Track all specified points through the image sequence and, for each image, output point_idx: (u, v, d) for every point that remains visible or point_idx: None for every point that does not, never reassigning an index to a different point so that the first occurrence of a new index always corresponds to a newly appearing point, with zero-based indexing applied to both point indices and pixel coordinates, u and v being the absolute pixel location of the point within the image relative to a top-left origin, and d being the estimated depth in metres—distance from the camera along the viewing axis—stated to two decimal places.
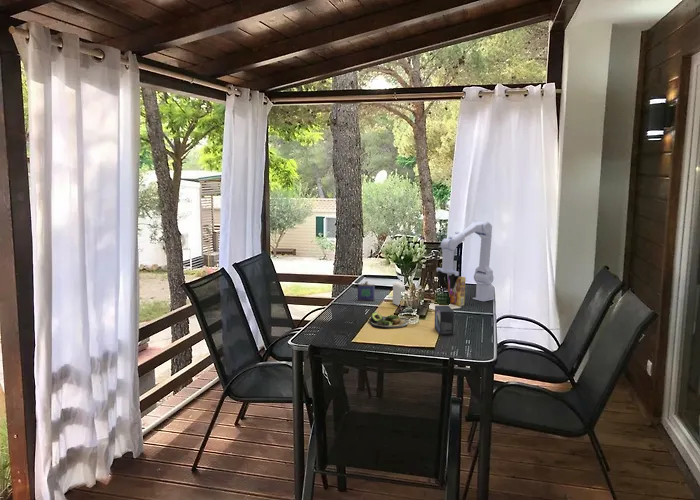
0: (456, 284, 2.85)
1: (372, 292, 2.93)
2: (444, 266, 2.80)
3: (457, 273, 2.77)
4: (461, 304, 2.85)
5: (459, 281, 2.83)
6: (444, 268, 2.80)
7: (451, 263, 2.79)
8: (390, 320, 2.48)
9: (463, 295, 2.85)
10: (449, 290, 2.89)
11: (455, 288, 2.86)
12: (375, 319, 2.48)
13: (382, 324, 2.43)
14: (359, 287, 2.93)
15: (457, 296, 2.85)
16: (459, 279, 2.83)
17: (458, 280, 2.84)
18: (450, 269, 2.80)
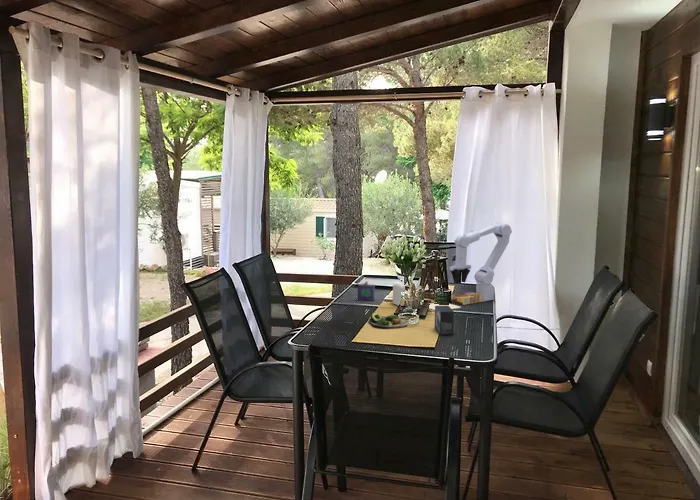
0: (473, 294, 2.95)
1: (372, 292, 2.93)
2: None
3: (450, 268, 2.89)
4: (464, 300, 2.87)
5: (478, 294, 2.94)
6: None
7: (457, 259, 2.91)
8: (390, 320, 2.48)
9: (470, 301, 2.90)
10: (462, 293, 2.96)
11: (470, 294, 2.94)
12: (375, 319, 2.48)
13: (382, 324, 2.43)
14: (359, 287, 2.93)
15: (466, 296, 2.90)
16: (479, 294, 2.95)
17: (478, 294, 2.95)
18: (456, 264, 2.92)
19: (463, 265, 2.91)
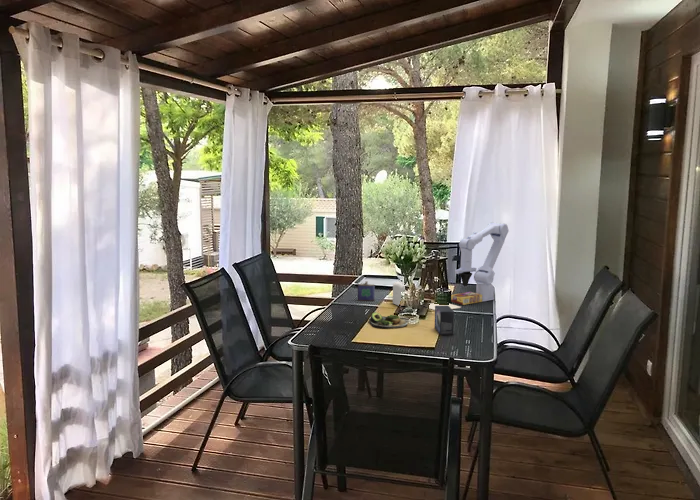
0: (473, 294, 2.95)
1: (372, 292, 2.93)
2: None
3: (456, 271, 2.86)
4: (464, 300, 2.87)
5: (478, 294, 2.94)
6: None
7: (462, 262, 2.88)
8: (390, 320, 2.48)
9: (470, 301, 2.90)
10: (462, 293, 2.96)
11: (470, 294, 2.94)
12: (375, 319, 2.48)
13: (382, 324, 2.43)
14: (359, 287, 2.93)
15: (466, 296, 2.90)
16: (479, 294, 2.95)
17: (478, 294, 2.95)
18: (461, 267, 2.89)
19: (468, 268, 2.87)
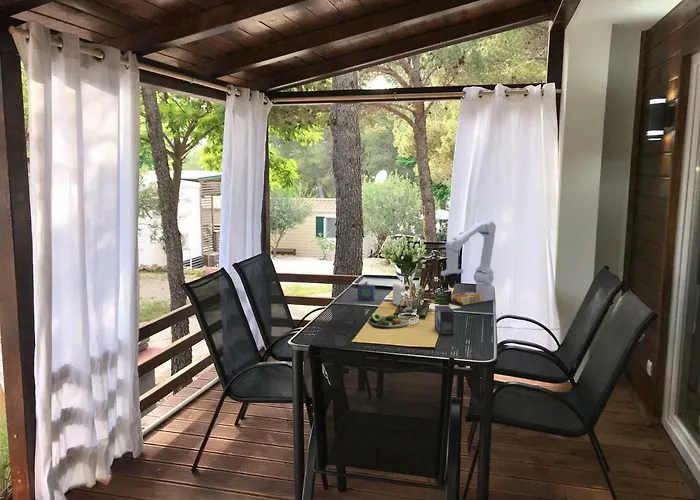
0: (473, 294, 2.95)
1: (372, 292, 2.93)
2: None
3: (442, 273, 2.80)
4: (464, 300, 2.87)
5: (478, 294, 2.94)
6: None
7: (448, 263, 2.82)
8: (390, 320, 2.48)
9: (470, 301, 2.90)
10: (462, 293, 2.96)
11: (470, 294, 2.94)
12: (375, 319, 2.48)
13: (382, 324, 2.43)
14: (359, 287, 2.93)
15: (466, 296, 2.90)
16: (479, 294, 2.95)
17: (478, 294, 2.95)
18: (447, 269, 2.83)
19: (455, 270, 2.82)
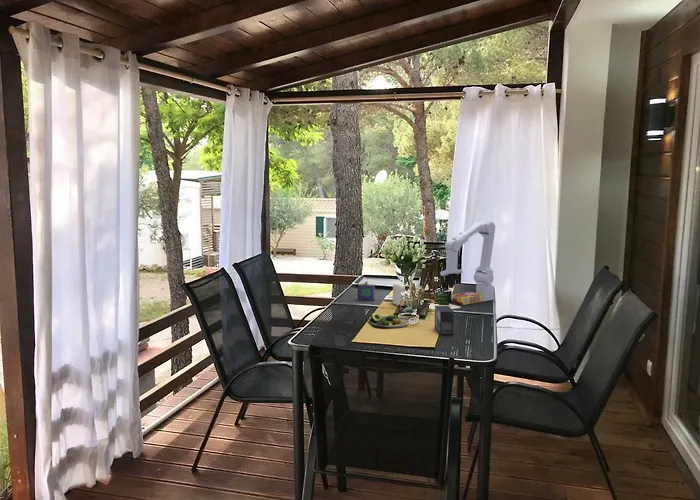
0: (473, 294, 2.95)
1: (372, 292, 2.93)
2: None
3: (441, 273, 2.80)
4: (464, 300, 2.87)
5: (478, 294, 2.94)
6: None
7: (447, 263, 2.82)
8: (390, 320, 2.48)
9: (470, 301, 2.90)
10: (462, 293, 2.96)
11: (470, 294, 2.94)
12: (375, 319, 2.48)
13: (382, 324, 2.43)
14: (359, 287, 2.93)
15: (466, 296, 2.90)
16: (479, 294, 2.95)
17: (478, 294, 2.95)
18: (447, 269, 2.83)
19: (454, 270, 2.81)
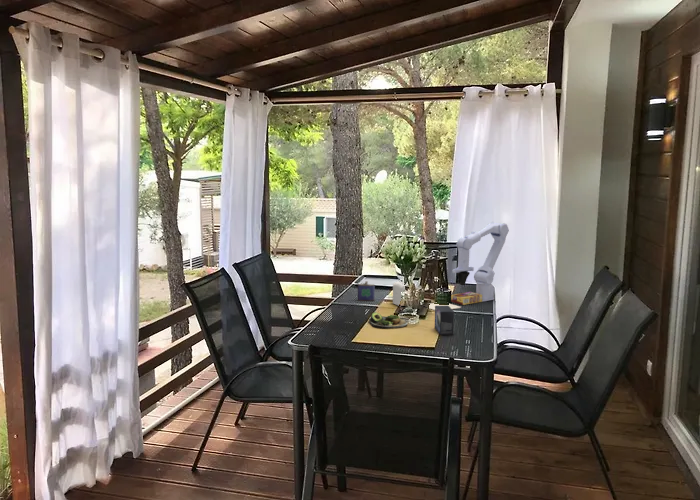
0: (473, 294, 2.95)
1: (372, 292, 2.93)
2: None
3: (453, 270, 2.87)
4: (464, 300, 2.87)
5: (478, 294, 2.94)
6: None
7: (459, 261, 2.89)
8: (390, 320, 2.48)
9: (470, 301, 2.90)
10: (462, 293, 2.96)
11: (470, 294, 2.94)
12: (375, 319, 2.48)
13: (382, 324, 2.43)
14: (359, 287, 2.93)
15: (466, 296, 2.90)
16: (479, 294, 2.95)
17: (478, 294, 2.95)
18: (458, 267, 2.90)
19: (466, 267, 2.88)
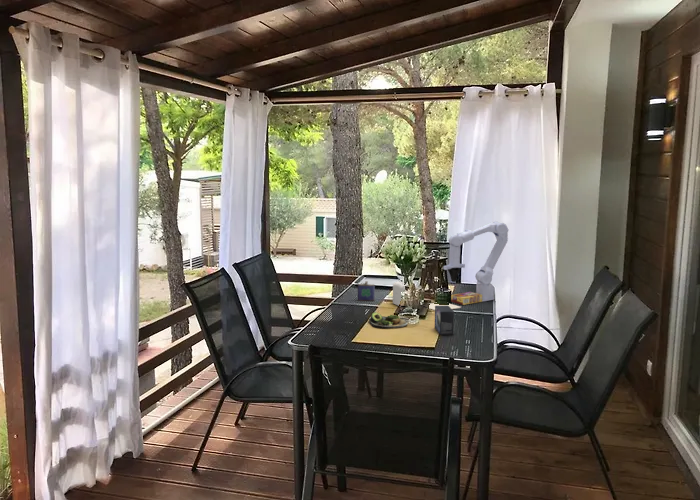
0: (473, 294, 2.95)
1: (372, 292, 2.93)
2: None
3: (444, 267, 2.92)
4: (464, 300, 2.87)
5: (478, 294, 2.94)
6: None
7: (450, 258, 2.94)
8: (390, 320, 2.48)
9: (470, 301, 2.90)
10: (462, 293, 2.96)
11: (470, 294, 2.94)
12: (375, 319, 2.48)
13: (382, 324, 2.43)
14: (359, 287, 2.93)
15: (466, 296, 2.90)
16: (479, 294, 2.95)
17: (478, 294, 2.95)
18: (449, 264, 2.95)
19: (457, 264, 2.93)
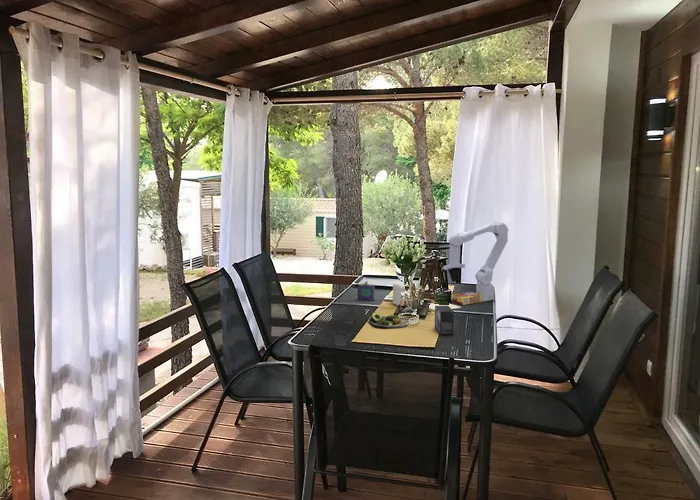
0: (473, 294, 2.95)
1: (372, 292, 2.93)
2: None
3: (444, 267, 2.92)
4: (464, 300, 2.87)
5: (478, 294, 2.94)
6: None
7: (450, 258, 2.94)
8: (390, 320, 2.48)
9: (470, 301, 2.90)
10: (462, 293, 2.96)
11: (470, 294, 2.94)
12: (375, 319, 2.48)
13: (382, 324, 2.43)
14: (359, 287, 2.93)
15: (466, 296, 2.90)
16: (479, 294, 2.95)
17: (478, 294, 2.95)
18: (449, 264, 2.95)
19: (457, 264, 2.93)
